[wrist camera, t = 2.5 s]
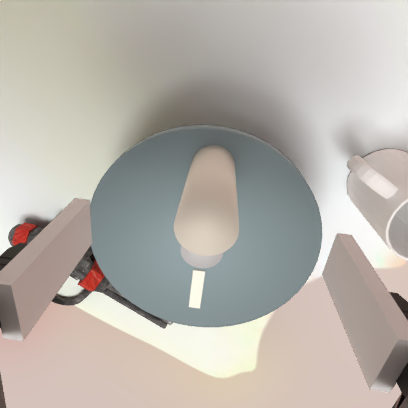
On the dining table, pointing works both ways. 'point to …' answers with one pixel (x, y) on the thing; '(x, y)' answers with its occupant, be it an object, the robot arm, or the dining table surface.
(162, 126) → the dining table surface
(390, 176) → the mug
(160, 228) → the handwheel
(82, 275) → the dark grey forked tool
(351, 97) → the dining table surface
